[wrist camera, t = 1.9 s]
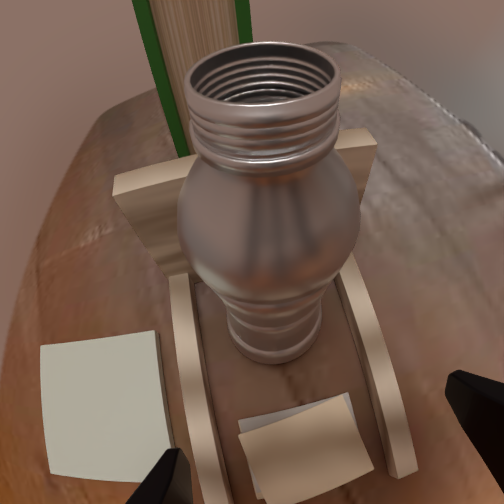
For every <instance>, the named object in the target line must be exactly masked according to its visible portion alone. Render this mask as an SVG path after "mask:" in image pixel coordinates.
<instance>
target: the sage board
mask: <svg viewBox="0 0 504 504" xmlns="http://www.w3.org/2000/svg"><path fill="white" fill-rule="evenodd" d="M40 374H41V399H42V413H43V424H44V433H45V441H46V448H47V455H48V461H49V467H50V472H51V473H52V474H57V475H63V476H70V477H77V478H85V479H95V480H106V481H121V482H142V481H143V480H144V479H145V477H146V476H147V475H148V473H149V472H150V471H151V469H152V468H153V467H154V465H155V464H156V463H157V461H158V460H159V459H160V457H161V456H162V455H163V453H164V452H165V451H166V450H167V449H168V448H175V444H174V439H173V434H172V428H171V422H170V416H169V410H168V404H167V397H166V390H165V383H164V376H163V368H162V360H161V351H160V341H159V333H157V332H156V331H155V330H152V331H146V332H140V333H134V334H127V335H121V336H114V337H107V338H100V339H92V340H85V341H77V342H69V343H60V344H51V345H42V346H41V348H40Z"/></svg>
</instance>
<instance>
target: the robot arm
mask: <svg viewBox="0 0 504 504" xmlns="http://www.w3.org/2000/svg"><path fill="white" fill-rule="evenodd" d="M445 396H446V398H447V400H448V402H449V404H450V406H451V408H452V409H453V411H454V413H455V415H456V417H457V419H458V421H459V423H460V425H461V427H462V428H463V430H464V431H465V433H466V434H467V436H468V437H469V439H470V440H471V442H472V444H473V445H474V447H475V448H476V450H477V451H478V453H479V454H480V456H481V457H482V459H483V461H484V462H485V464H486V465H487V467H488V468H489V470H490V472H491V473H492V475H493V477H494V478H495V480H496V482H497V483H498V485H499V487H500V488H501V490H502V492H503V493H504V383H501V382H498V381H495V380H491V379H488V378H485V377H481V376H478V375H475V374H472V373H469V372H465V371H462V370H456V371H454V372H452V373H450V374H449V375H448V379H447V383H446V388H445ZM125 504H193V495H192V483H191V471H190V464H189V462H188V460H187V458H186V456H185V455H184V453H183V451H182V450H181V449H180V448H168V449H167V450H166V451H165V452H164V453H163V455H162V456H161V457H160V459H159V460H158V461H157V463H156V464H155V465H154V467H153V468H152V469H151V471H150V472H149V473H148V475H147V476H146V477H145V479H144V480H143V481H142V483H141V484H140V485H139V486H138V488H137V489H136V490H135V492H134V493H133V494H132V496H131V497H130V498H129V499H128V501H127V502H126V503H125Z"/></svg>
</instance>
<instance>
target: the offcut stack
mask: <svg viewBox="0 0 504 504" xmlns="http://www.w3.org/2000/svg"><path fill="white" fill-rule="evenodd" d="M238 423H239V427H240V432H241V434H239V435H238V437H239V440H240V442H241V445H242V447H243V450H244V452H245V454H246V457H247V461H248V465H249V469H250V473H251V477H252V481H253V485H254V489H255V493H256V497H257V499H263V498H264V499H265V501H266V503H267V504H296V503H299V502H301V501H304V500H307V499H309V498H312V497H315V496H317V495H320V494H322V493H325V492H327V491H329V490H332V489H334V488H336V487H339V486H341V485H343V484H345V483H347V482H350V481H352V480H354V479H356V478H358V477H360V476H362V475H364V474H366V473H368V472H370V471H372V470H374V467H373V465H372V462H371V460H370V457H369V455H368V453H367V450H366V448H365V446H364V443H363V441H362V439H361V436H360V434H359V431H358V427H357V423H356V420H355V416H354V412H353V409H352V405H351V401H350V398H349V394H348V392H347V393H344V394H341V395H338V396H334V397H331V398H328V399H324V400H321V401H317V402H314V403H310V404H307V405H303V406H299V407H295V408H291V409H287V410H283V411H279V412H275V413H270V414H266V415H261V416H256V417H251V418H246V419H241V420H238Z"/></svg>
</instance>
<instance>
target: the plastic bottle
mask: <svg viewBox="0 0 504 504" xmlns="http://www.w3.org/2000/svg"><path fill="white" fill-rule="evenodd" d="M341 80H342V78H341V70H340V67H339V65H338V64H337V62H336V61H335V60H334V59H333V58H332V57H330V56H329V55H327V54H326V53H324V52H322V51H320V50H318V49H315V48H312V47H309V46H306V45H301V44H297V43H290V42H280V41H261V42H250V43H243V44H238V45H233V46H230V47H226V48H223V49H220V50H218V51H215V52H213V53H210V54H209V55H207V56H205V57H203V58H201V59H200V60H199V61H197V62H196V63H194V64H193V65H192V66H191V67H190V69H189V70H188V71H187V73H186V75H185V77H184V93H185V97H186V101H187V106H188V110H189V114H190V118H191V119H190V122H189V132H190V136H191V140H192V144H193V147H194V150H195V152H196V153H197V155H198V157H197V158H196V160H195V162H194V163H193V165H192V167H191V169H190V171H189V173H188V175H187V177H186V179H185V181H184V183H183V186H182V188H181V191H180V194H179V198H178V202H177V234H178V238H179V243H180V247H181V249H182V251H183V253H184V255H185V257H186V259H187V261H188V262H189V264H190V265H191V266H192V268H193V269H194V271H195V272H196V273H197V274H198V276H199V277H200V278H201V279H202V280H203V281H204V282H205V283H206V284H207V285H208V286H209V287H210V288H211V289H212V290H213V291H214V292H215V293H216V294H217V295H218V296H219V297H220V298H221V299H222V301H223V303H224V304H225V306H226V308H227V326H228V332H229V335H230V338H231V340H232V342H233V343H234V345H235V347H236V348H237V349H238V350H239V351H240V352H241V353H242V354H243V355H245V356H246V357H248V358H249V359H251V360H254V361H256V362H259V363H264V364H281V363H285V362H289V361H291V360H293V359H296V358H297V357H299V356H301V355H302V354H304V353H305V352H306V351H307V350H308V349H309V348H310V347H311V346H312V344H313V343H314V341H315V340H316V338H317V336H318V333H319V331H320V327H321V322H322V305H321V298H322V296H323V294H324V292H325V290H326V288H327V287H328V286H329V284H330V283H331V282H332V280H333V279H334V278H335V277H336V275H337V274H338V272H339V271H340V270H341V268H342V267H343V265H344V264H345V262H346V260H347V259H348V257H349V255H350V253H351V251H352V249H353V247H354V246H355V243H356V240H357V237H358V234H359V231H360V219H361V213H360V204H359V197H358V191H357V186H356V183H355V181H354V179H353V176H352V174H351V172H350V170H349V169H348V167H347V165H346V164H345V162H344V160H343V159H342V157H341V155H340V154H339V153H338V152H337V150H336V149H335V148H334V146H335V144H336V141H337V139H338V134H339V127H340V114H339V110H338V104H339V97H340V89H341Z"/></svg>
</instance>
